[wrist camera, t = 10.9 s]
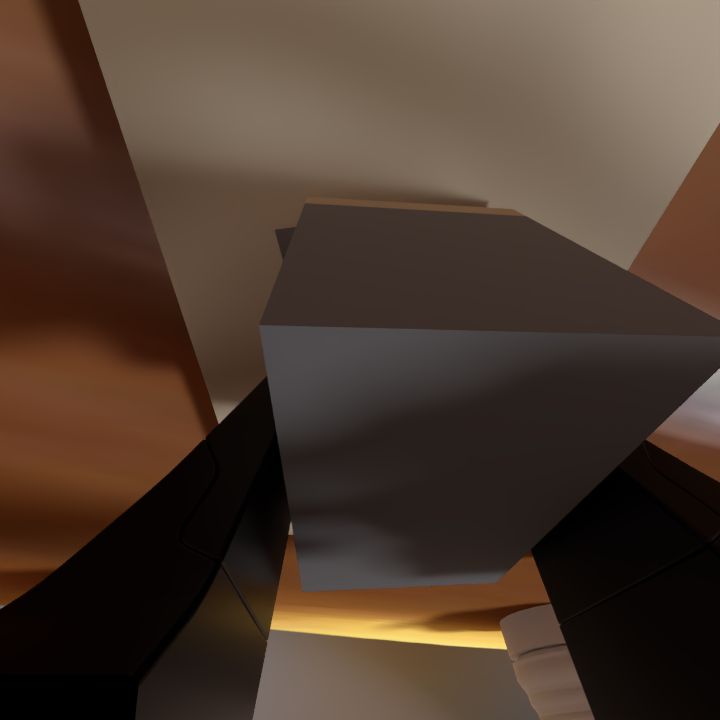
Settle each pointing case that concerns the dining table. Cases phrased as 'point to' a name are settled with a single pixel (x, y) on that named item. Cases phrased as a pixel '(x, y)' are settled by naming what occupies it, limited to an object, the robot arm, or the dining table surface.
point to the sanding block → (457, 385)
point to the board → (393, 127)
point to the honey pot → (545, 664)
